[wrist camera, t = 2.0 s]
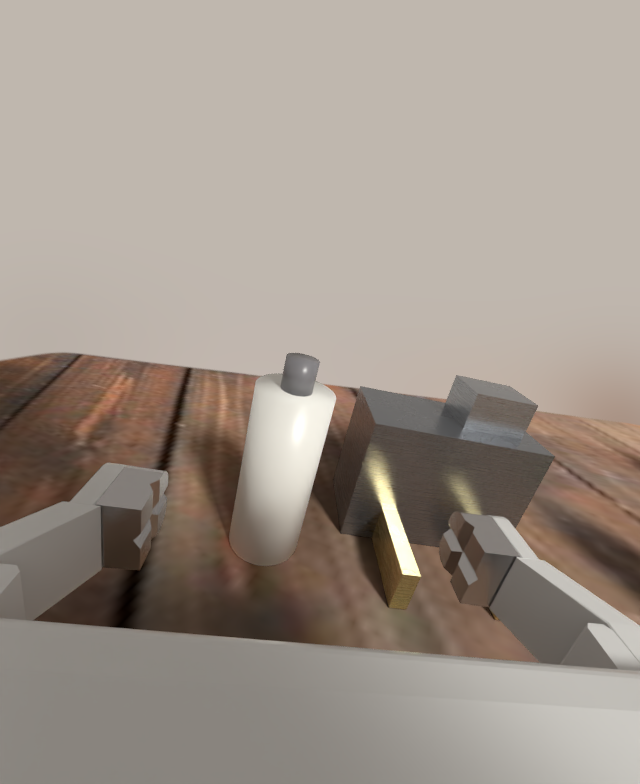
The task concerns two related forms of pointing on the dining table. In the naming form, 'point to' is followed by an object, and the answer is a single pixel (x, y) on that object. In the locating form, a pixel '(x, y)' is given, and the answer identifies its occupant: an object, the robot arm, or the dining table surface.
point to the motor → (433, 470)
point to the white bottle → (280, 461)
